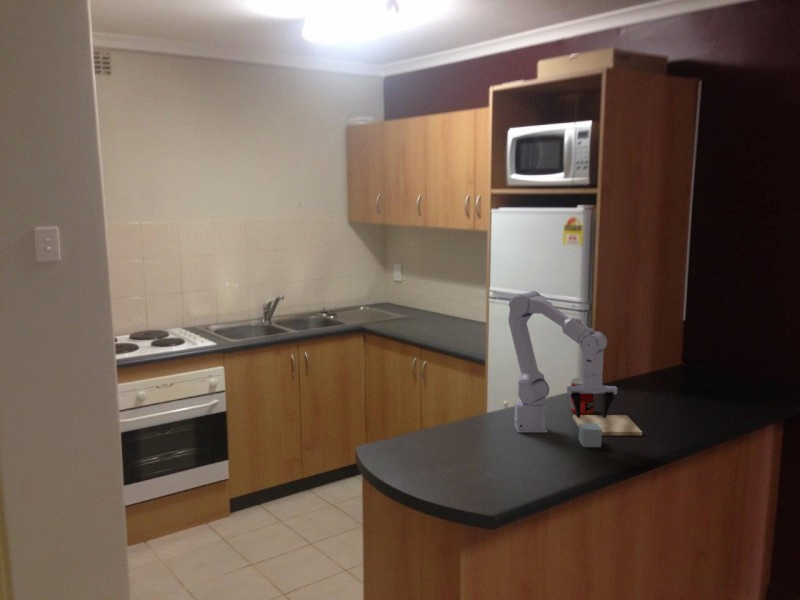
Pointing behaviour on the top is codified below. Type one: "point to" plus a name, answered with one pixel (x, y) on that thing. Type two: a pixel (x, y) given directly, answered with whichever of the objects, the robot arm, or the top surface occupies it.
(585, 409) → the canned food
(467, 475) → the top surface
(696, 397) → the top surface
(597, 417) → the board
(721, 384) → the top surface
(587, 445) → the cube
